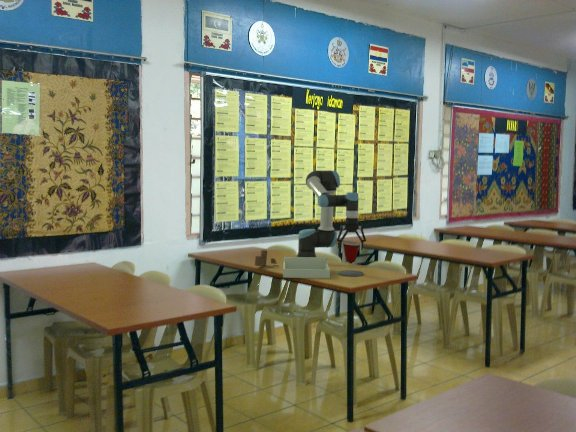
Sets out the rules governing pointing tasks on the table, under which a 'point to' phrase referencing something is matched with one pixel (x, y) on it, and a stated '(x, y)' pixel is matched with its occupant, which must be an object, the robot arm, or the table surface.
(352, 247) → the plastic cup
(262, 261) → the wooden block set
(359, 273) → the saucer
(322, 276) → the light grey tray
